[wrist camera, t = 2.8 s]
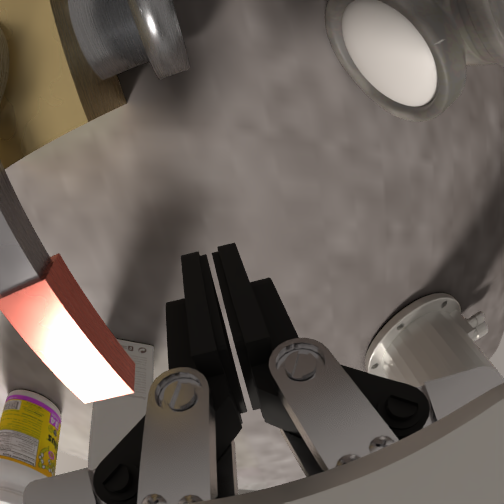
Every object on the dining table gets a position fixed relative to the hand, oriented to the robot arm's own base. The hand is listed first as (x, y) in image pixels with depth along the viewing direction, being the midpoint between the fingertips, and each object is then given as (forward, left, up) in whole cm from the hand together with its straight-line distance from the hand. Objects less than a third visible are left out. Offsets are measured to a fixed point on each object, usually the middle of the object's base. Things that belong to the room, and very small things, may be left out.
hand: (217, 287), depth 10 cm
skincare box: (+11, +12, -10) cm, 19 cm away
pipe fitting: (-16, -7, -10) cm, 20 cm away
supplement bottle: (+25, +15, -10) cm, 31 cm away
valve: (+6, -10, -10) cm, 15 cm away
